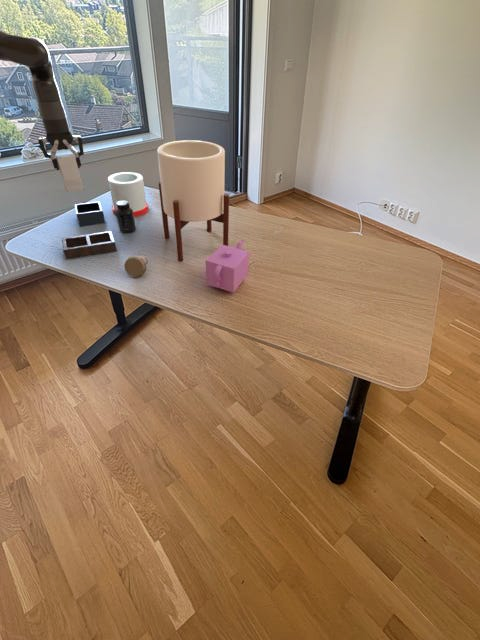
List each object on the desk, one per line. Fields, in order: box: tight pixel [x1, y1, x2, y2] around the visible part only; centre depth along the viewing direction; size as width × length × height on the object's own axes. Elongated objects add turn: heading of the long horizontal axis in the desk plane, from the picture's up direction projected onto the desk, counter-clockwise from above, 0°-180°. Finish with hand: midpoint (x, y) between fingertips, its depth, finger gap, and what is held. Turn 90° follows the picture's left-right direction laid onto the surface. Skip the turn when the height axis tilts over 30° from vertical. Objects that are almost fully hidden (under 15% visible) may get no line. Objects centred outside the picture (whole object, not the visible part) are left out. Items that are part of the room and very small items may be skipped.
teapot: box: [205, 239, 250, 293], centre depth 117 cm, size 20×10×12 cm, turn 155°
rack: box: [61, 230, 118, 261], centre depth 131 cm, size 18×10×4 cm, turn 114°
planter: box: [157, 139, 230, 262], centre depth 127 cm, size 22×22×36 cm
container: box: [107, 171, 149, 218], centre depth 156 cm, size 16×16×15 cm
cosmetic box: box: [55, 153, 85, 193], centre depth 126 cm, size 6×4×12 cm
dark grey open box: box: [74, 201, 106, 227], centre depth 149 cm, size 10×10×6 cm
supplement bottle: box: [115, 201, 137, 235], centre depth 141 cm, size 7×7×12 cm
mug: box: [123, 255, 149, 278], centre depth 121 cm, size 8×10×10 cm
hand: (68, 168), depth 125 cm, fingers closed on cosmetic box, 6 cm apart
